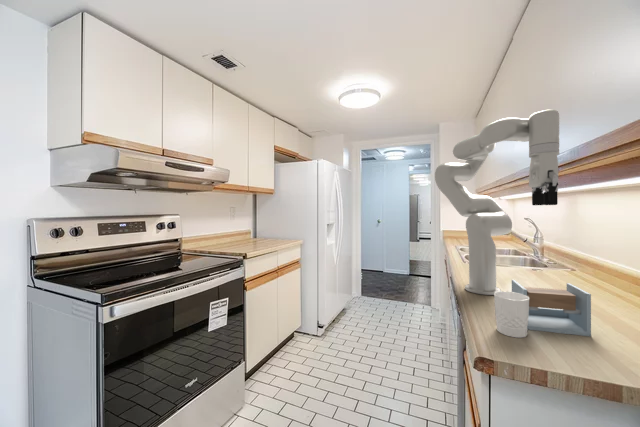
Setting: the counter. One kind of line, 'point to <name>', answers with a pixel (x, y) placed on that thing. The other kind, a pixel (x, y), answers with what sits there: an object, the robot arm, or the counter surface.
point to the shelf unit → (561, 314)
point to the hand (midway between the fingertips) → (544, 205)
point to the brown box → (551, 298)
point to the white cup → (511, 313)
